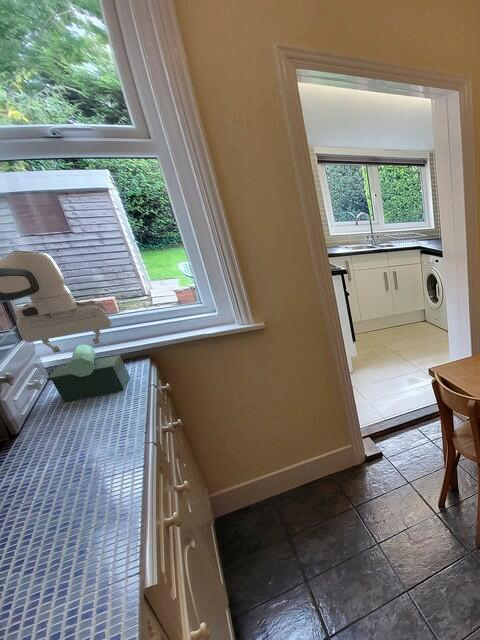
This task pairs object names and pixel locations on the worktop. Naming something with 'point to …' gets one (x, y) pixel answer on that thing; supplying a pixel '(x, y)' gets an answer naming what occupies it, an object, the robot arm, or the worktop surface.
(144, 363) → the worktop surface
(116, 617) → the worktop surface
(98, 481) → the worktop surface
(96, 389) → the case
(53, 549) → the worktop surface
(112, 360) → the case lid
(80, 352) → the light green cylinder
